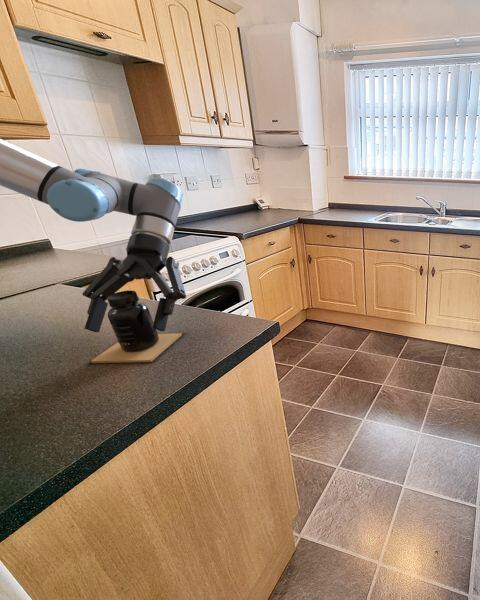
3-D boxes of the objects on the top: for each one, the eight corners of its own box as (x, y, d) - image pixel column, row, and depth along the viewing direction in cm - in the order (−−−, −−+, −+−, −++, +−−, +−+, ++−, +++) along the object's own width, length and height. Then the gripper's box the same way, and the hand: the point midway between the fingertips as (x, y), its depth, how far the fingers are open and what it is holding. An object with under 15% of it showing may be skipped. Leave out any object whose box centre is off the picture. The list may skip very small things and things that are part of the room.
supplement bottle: (137, 336, 77) (119, 287, 72) (166, 337, 76) (150, 288, 72) (113, 353, 70) (91, 301, 66) (144, 353, 70) (125, 301, 65)
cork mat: (91, 363, 68) (90, 361, 68) (130, 335, 78) (129, 334, 78) (151, 362, 68) (150, 360, 68) (182, 335, 78) (181, 333, 78)
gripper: (214, 248, 81) (196, 333, 73) (108, 249, 80) (79, 335, 73) (196, 231, 74) (175, 323, 66) (81, 232, 73) (46, 325, 66)
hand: (125, 330), depth 69 cm, fingers open, 13 cm apart
